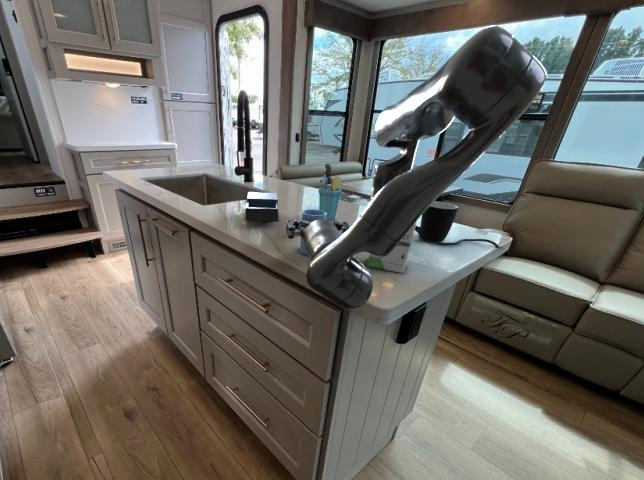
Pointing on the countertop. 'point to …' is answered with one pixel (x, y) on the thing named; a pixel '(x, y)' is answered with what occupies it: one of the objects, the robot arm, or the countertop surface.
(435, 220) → the mug
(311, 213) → the light blue hollow cylinder
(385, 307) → the countertop surface
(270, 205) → the storage box
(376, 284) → the countertop surface
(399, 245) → the ink box
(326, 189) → the cup
